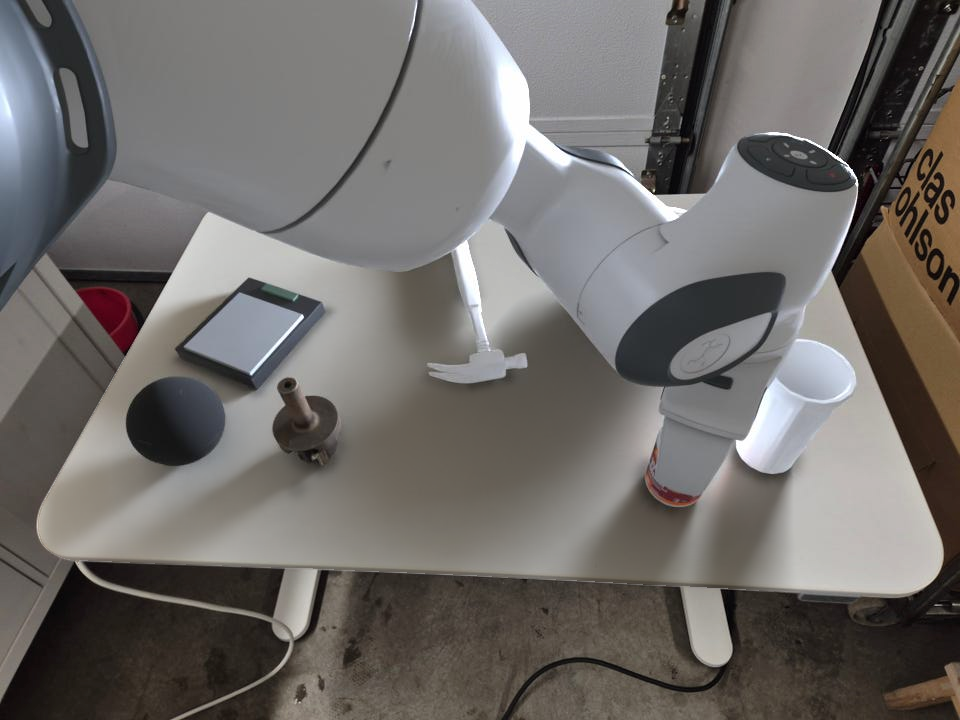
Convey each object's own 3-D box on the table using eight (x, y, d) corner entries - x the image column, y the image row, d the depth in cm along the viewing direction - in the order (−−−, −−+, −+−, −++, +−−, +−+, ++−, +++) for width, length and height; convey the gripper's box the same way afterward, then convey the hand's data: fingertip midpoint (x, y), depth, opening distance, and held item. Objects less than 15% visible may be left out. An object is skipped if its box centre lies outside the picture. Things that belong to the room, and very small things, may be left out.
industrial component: (293, 420, 74) (261, 356, 65) (352, 418, 74) (328, 353, 64) (276, 490, 68) (238, 430, 59) (341, 489, 67) (313, 428, 58)
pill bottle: (633, 488, 66) (651, 429, 57) (661, 448, 69) (681, 387, 60) (686, 520, 63) (713, 464, 54) (713, 478, 66) (742, 418, 57)
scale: (256, 390, 77) (249, 377, 75) (180, 358, 81) (171, 345, 79) (325, 311, 86) (321, 298, 84) (253, 287, 90) (247, 273, 88)
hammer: (432, 391, 76) (429, 375, 73) (407, 240, 95) (404, 224, 92) (528, 374, 77) (528, 358, 74) (484, 228, 96) (483, 212, 93)
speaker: (233, 399, 76) (201, 347, 69) (243, 464, 70) (209, 414, 63) (150, 426, 74) (107, 374, 67) (152, 494, 68) (106, 447, 61)
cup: (807, 434, 69) (861, 351, 58) (798, 494, 64) (855, 416, 53) (733, 411, 71) (771, 328, 60) (719, 467, 67) (758, 388, 56)
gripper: (716, 245, 55) (685, 345, 65) (654, 418, 43) (628, 506, 54) (791, 262, 53) (746, 363, 63) (746, 449, 41) (700, 534, 52)
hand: (691, 431), depth 59 cm, fingers open, 8 cm apart
